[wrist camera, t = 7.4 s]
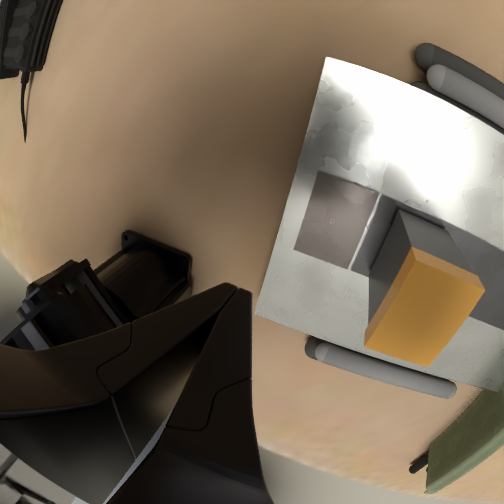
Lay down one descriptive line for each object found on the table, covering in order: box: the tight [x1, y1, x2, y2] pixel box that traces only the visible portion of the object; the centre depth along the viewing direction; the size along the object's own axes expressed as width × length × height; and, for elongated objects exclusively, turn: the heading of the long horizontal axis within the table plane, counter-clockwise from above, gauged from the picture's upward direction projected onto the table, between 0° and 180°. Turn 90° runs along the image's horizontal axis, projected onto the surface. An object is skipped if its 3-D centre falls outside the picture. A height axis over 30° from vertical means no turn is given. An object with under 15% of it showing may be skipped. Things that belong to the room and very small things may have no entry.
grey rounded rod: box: [305, 338, 457, 399], centre depth 19 cm, size 14×4×3 cm, turn 77°
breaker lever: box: [364, 209, 485, 367], centre depth 12 cm, size 3×4×6 cm
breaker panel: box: [254, 57, 504, 392], centre depth 14 cm, size 24×16×2 cm, turn 77°
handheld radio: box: [409, 383, 504, 494], centre depth 18 cm, size 7×3×25 cm
